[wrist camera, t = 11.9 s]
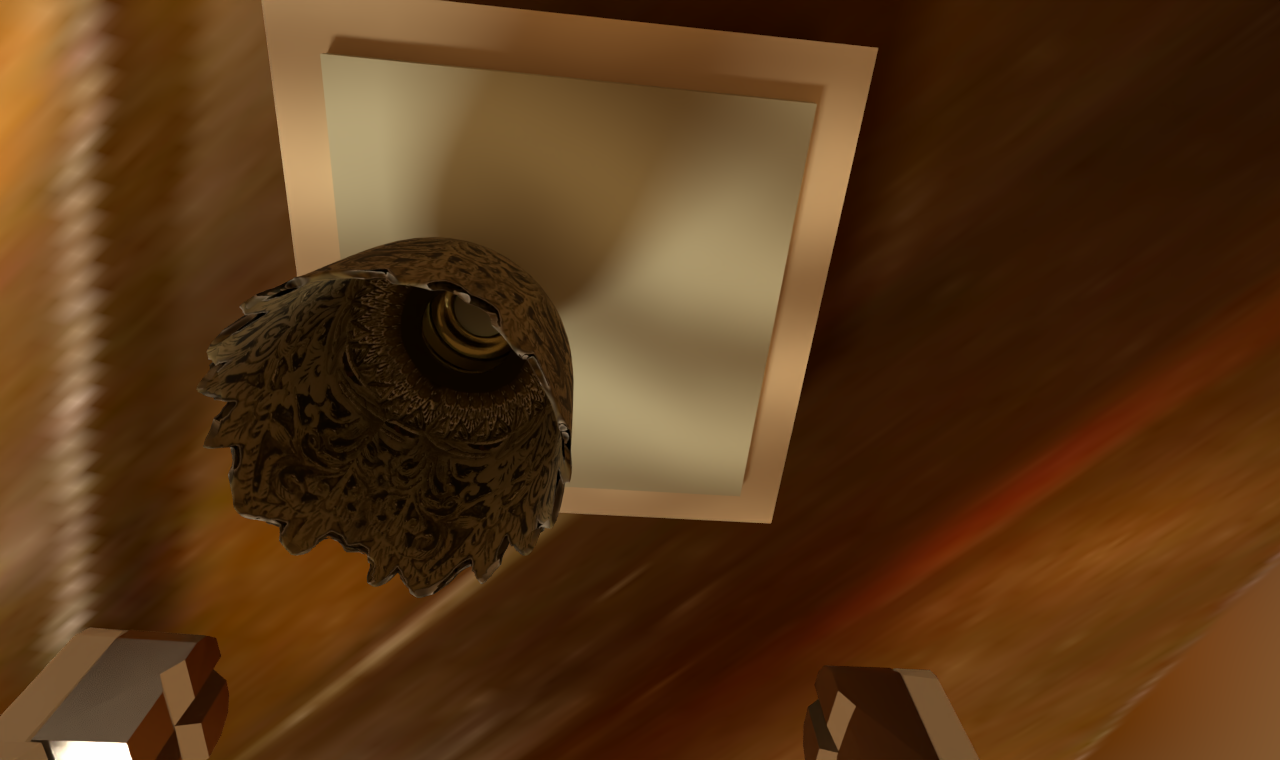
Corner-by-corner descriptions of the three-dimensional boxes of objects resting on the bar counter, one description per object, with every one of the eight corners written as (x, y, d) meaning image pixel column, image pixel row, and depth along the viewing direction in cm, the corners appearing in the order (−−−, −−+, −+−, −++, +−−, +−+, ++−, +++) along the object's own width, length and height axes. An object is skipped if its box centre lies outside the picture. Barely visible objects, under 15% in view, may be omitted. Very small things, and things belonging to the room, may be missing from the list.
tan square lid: (745, 444, 31) (774, 532, 25) (372, 421, 30) (321, 509, 24) (822, 42, 24) (884, 48, 18) (335, -10, 22) (249, -21, 17)
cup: (322, 340, 22) (147, 494, 15) (419, 129, 19) (260, 193, 12) (532, 455, 23) (467, 644, 16) (653, 277, 20) (640, 414, 13)
